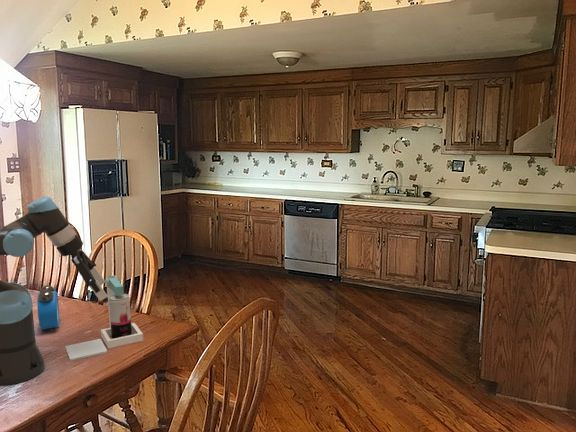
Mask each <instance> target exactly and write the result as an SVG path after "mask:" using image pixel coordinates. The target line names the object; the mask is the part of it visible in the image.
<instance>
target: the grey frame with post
mask: <svg viewBox="0 0 576 432" xmlns="http://www.w3.org/2000/svg"><path fill="white" fill-rule="evenodd" d="M106 294H107V296H108V297H107V308H108V309H107V310H108V320H109V327H108V328H103V329H100V335H101V337H100V338H102V339H101V340H103V343H104V345H106V346H105V347H106V349H107V350H108V349H113V348H118V347H121V346H126V345H131V344H134V343H140V342H144V333H143V332H142V330H141V329H140V327H138V325H137V324H136V323H135V322H131V328H132V335H128V336H124V337H119V338H114V339H112V338H111V337H112V334H111V321H110V308H109V297H110V296H112V295H115V294H114V292H113V291H112V290H111V288H110V287H107V286H106Z"/></svg>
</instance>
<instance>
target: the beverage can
mask: <svg viewBox="0 0 576 432" xmlns="http://www.w3.org/2000/svg"><path fill="white" fill-rule="evenodd" d="M130 304H131V302H130V296H129V294H128V293H124V295H120V296H116V295H112V296H110V297H109V308H110V321H111V334H112V336H111V339H114V338H119V337H124V336H128V335H133V332H132V328H131V323H132V318H131V305H130Z"/></svg>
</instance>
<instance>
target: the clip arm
mask: <svg viewBox="0 0 576 432" xmlns="http://www.w3.org/2000/svg"><path fill="white" fill-rule="evenodd" d="M105 283H106V285H105V286H106V288H107V287H110V288H111V290H112V291H113V292H114V294H115V295H116V296H120V295H124V294H125V292H124V285H123V284H122V282H121V281H119V280H118V276H117V275H108V276H106V277H105Z"/></svg>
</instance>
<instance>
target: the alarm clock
mask: <svg viewBox="0 0 576 432" xmlns="http://www.w3.org/2000/svg"><path fill="white" fill-rule="evenodd" d="M36 299H37V303H36V304H37V318H38V324H39V326H38V327H39V329H40V330H41V331H42V330H48V329H54V328H55V330H56V331H57V329H58V328H59V326H60V307H59V305H60V304H59V296H58V292H57V290H56V289H55V288H54V286H52V285H47V284H46V285H43V286H41V287H40V289H39V292H38V294H37V298H36Z"/></svg>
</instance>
